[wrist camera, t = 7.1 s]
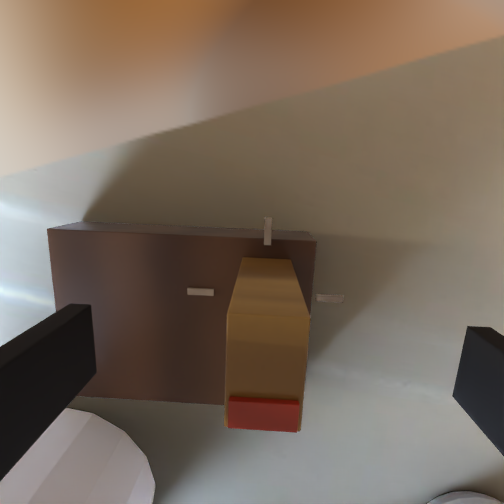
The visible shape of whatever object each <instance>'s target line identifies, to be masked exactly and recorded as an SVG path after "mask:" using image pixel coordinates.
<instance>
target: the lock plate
mask: <svg viewBox="0 0 504 504" xmlns="http://www.w3.org/2000/svg"><path fill="white" fill-rule="evenodd" d="M47 234H48V243H49V252H50V261H51V270H52V280H53V289H54V298H55V307H56V312H57V311H59V310H60V309H62V308H64V307H65V306H67V305H68V304H70V303H72V304H90V305H91V310H92V322H93V334H94V346H95V357H96V369H97V373H96V374H95V375H94V377H93V378H92V379H91V380H90V381H89V382H88V383H87V384H86V386H85V387H84V388H83V389H82V390H81V391H80V392H79V393H78V395H77V396H82V397H98V398H115V399H131V400H148V401H164V402H181V403H197V404H214V405H225V366H226V328H227V312H228V309H229V305H230V301H231V298H232V294H233V291H234V287H235V283H236V280H237V276H238V273H239V269H240V265H241V262H242V258H243V257H249V258H269V259H289V260H291V262H292V265H293V268H294V271H295V274H296V277H297V280H298V283H299V286H300V289H301V292H302V294H303V297H304V300H305V303H306V306H307V309H308V312H309V315H310V312H311V300H312V289H313V277H314V266H315V255H316V243H317V242H316V240H315V239H314V238H313V237H312V236H311V234H310V233H309V232H303V231H281V230H272V217H265V230H258V229H236V228H214V227H191V226H169V225H146V224H124V223H102V222H76V223H71V224H67V225H62V226H58V227H53V228H49V229H47ZM316 301H324V302H343V295H330V294H316Z"/></svg>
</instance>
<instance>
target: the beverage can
mask: <svg viewBox="0 0 504 504" xmlns="http://www.w3.org/2000/svg"><path fill="white" fill-rule="evenodd" d="M427 504H504V503H503V502H501V501H499V500H497V499H495V498H493V497H490V496H488V495H485V494H482V493H477V492H471V491H459V492H451V493H447V494H444V495H441V496H438V497H436V498H435V499H433V500H431V501H430V502H428V503H427Z"/></svg>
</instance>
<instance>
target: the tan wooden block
mask: <svg viewBox="0 0 504 504" xmlns="http://www.w3.org/2000/svg"><path fill="white" fill-rule="evenodd" d="M310 323H311V318H310V315H309V312H308V309H307V306H306V303H305V300H304V297H303V294H302V292H301V289H300V286H299V283H298V280H297V277H296V274H295V271H294V268H293V265H292V262H291V260H289V259H269V258H249V257H243V258H242V262H241V265H240V269H239V273H238V276H237V280H236V283H235V287H234V291H233V294H232V298H231V301H230V305H229V309H228V312H227V328H226V366H225V405H224V426H225V427H228V428H235V429H250V430H265V431H281V432H296V433H297V431H298V432H299V431H300V430H301V421H302V410H303V399H304V388H305V378H306V367H307V356H308V345H309V334H310Z"/></svg>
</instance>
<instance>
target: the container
mask: <svg viewBox="0 0 504 504" xmlns="http://www.w3.org/2000/svg"><path fill="white" fill-rule="evenodd" d="M155 486H156V485H155V482H154V479H153V475H152V472H151V469H150V466H149V463H148V460H147V457H146V456H145V454H144V453H143V452H142V451H141V450H140V449H139V447H138V446H137V445H136V444H135V443H134V442H133V440H132V439H131V438H130V437H129V436H128V435H127V433H126V432H125V431H123V430H121V429H120V428H118V427H116V426H114V425H113V424H111V423H109V422H108V421H106V420H104V419H102V418H101V417H99V416H97V415H95V414H94V413H89V412H84V411H79V410H75V409H70V408H65V409H64V410H63V411H62V413H61V414H60V415H59V416H58V417H57V418H56V419H55V420H54V422H53V423H52V424H51V425H50V426H49V427H48V428H47V430H46V431H45V432H44V433H43V434H42V435H41V436H40V437H39V439H38V440H37V441H36V442H35V443H34V444H33V445H32V446H31V448H30V449H29V450H28V451H27V452H26V453H25V454H24V455H23V457H22V458H21V459H20V460H19V461H18V462H17V463H16V464H15V466H14V467H13V468H12V469H11V470H10V471H9V472H8V473H7V475H6V476H5V477H4V478H3V479H2V480H1V481H0V504H153V498H154V492H155Z"/></svg>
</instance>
